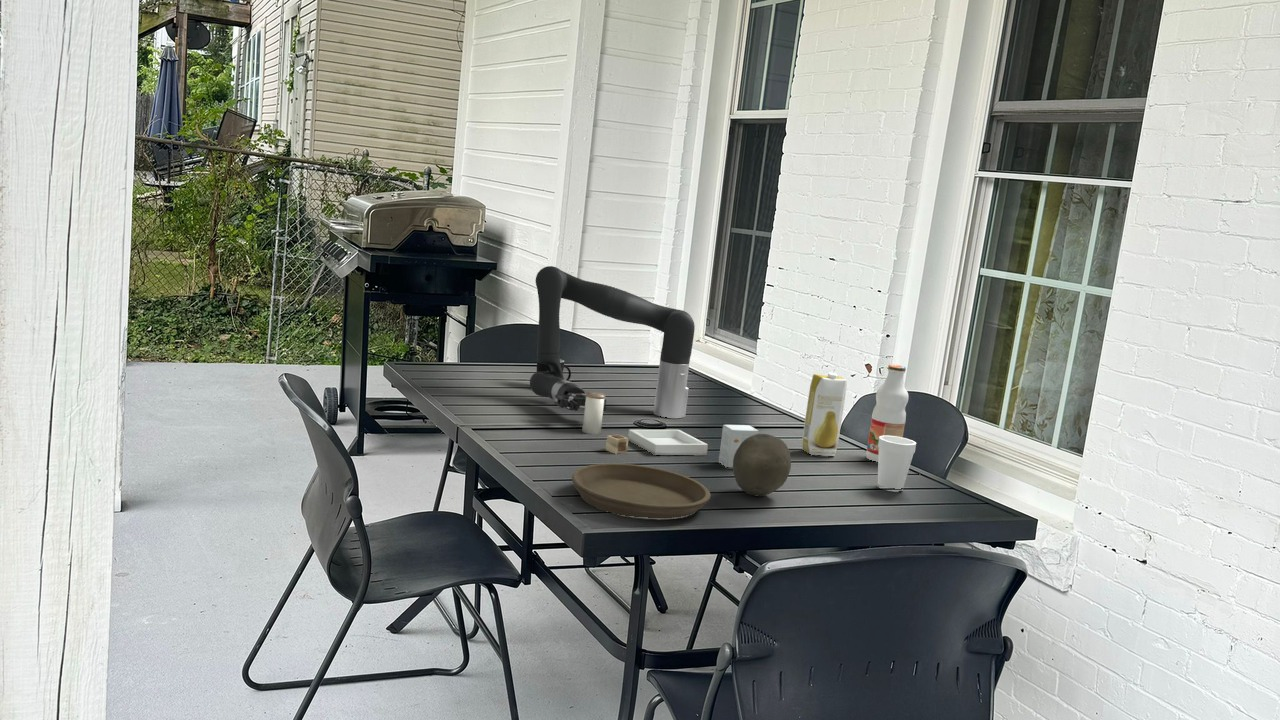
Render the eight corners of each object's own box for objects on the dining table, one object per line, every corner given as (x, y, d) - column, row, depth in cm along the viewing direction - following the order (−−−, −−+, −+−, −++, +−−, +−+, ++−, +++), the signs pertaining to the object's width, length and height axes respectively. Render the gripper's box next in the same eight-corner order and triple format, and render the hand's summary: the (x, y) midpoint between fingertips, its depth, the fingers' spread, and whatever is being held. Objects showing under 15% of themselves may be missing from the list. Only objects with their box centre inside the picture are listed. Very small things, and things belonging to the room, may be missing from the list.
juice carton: (809, 456, 289) (821, 373, 285) (797, 449, 297) (809, 368, 293) (838, 458, 292) (851, 376, 288) (826, 450, 299) (839, 370, 296)
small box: (744, 463, 273) (750, 425, 271) (753, 469, 268) (759, 430, 266) (717, 462, 270) (722, 423, 268) (726, 468, 265) (731, 429, 263)
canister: (595, 429, 291) (600, 391, 289) (604, 434, 286) (608, 396, 284) (578, 429, 288) (583, 391, 286) (586, 434, 283) (591, 395, 282)
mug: (538, 392, 333) (542, 361, 332) (530, 386, 341) (534, 356, 340) (573, 393, 338) (576, 363, 337) (564, 387, 346) (567, 358, 345)
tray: (677, 439, 290) (678, 429, 290) (706, 455, 276) (707, 444, 276) (627, 440, 282) (628, 429, 282) (654, 456, 269) (656, 445, 268)
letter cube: (616, 449, 271) (618, 433, 271) (627, 453, 268) (629, 437, 268) (605, 450, 269) (607, 434, 268) (615, 454, 266) (617, 438, 265)
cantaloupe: (715, 491, 242) (724, 430, 240) (753, 484, 252) (761, 425, 250) (762, 508, 233) (771, 445, 230) (799, 501, 243) (808, 440, 240)
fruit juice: (895, 467, 289) (911, 370, 285) (862, 460, 293) (877, 364, 288) (900, 460, 298) (916, 367, 293) (868, 454, 301) (883, 361, 297)
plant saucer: (731, 505, 233) (733, 486, 233) (666, 536, 207) (668, 514, 206) (616, 473, 248) (618, 455, 248) (542, 497, 222) (544, 477, 221)
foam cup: (864, 484, 265) (871, 436, 263) (886, 482, 271) (894, 434, 269) (892, 495, 258) (901, 446, 256) (915, 492, 264) (923, 444, 262)
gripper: (547, 381, 298) (569, 394, 284) (591, 382, 304) (614, 395, 290) (544, 406, 299) (566, 420, 285) (588, 407, 306) (611, 420, 291)
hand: (590, 407), depth 288 cm, fingers open, 8 cm apart
